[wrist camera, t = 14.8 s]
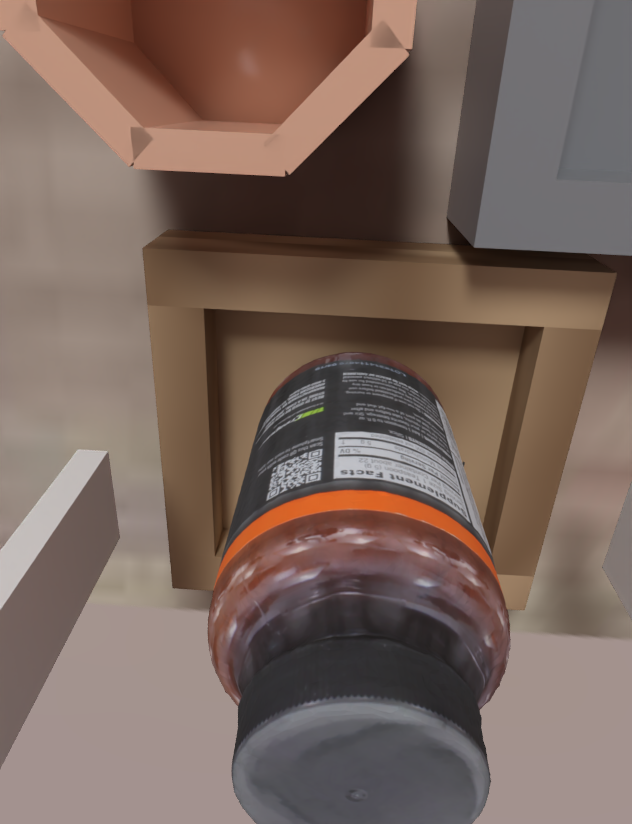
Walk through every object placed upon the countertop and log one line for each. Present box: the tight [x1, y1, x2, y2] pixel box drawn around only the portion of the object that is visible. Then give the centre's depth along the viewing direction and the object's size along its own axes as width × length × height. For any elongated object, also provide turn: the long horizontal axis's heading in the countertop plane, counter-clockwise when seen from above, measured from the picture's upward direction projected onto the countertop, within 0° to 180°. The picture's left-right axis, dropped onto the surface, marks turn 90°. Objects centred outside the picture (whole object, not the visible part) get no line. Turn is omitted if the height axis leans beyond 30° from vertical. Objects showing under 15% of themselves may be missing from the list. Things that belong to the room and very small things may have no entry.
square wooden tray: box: [143, 230, 617, 610], centre depth 19 cm, size 12×12×2 cm
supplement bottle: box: [208, 352, 510, 824], centre depth 14 cm, size 6×6×11 cm
